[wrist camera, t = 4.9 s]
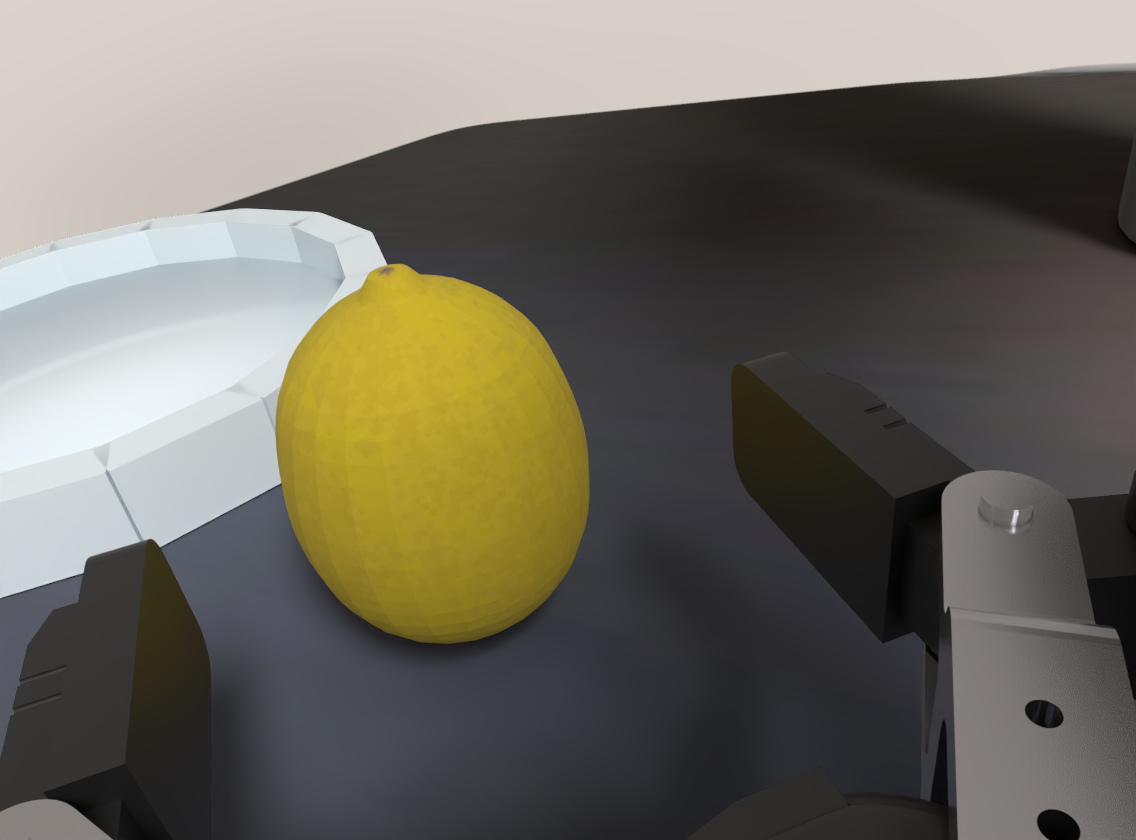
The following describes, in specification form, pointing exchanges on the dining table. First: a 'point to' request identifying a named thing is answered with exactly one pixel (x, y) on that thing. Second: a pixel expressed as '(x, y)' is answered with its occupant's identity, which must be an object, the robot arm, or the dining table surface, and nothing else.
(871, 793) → the robot arm
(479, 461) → the lemon
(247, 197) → the dining table surface
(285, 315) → the dish
